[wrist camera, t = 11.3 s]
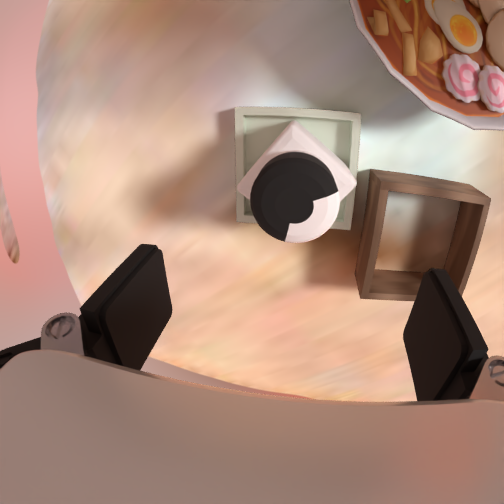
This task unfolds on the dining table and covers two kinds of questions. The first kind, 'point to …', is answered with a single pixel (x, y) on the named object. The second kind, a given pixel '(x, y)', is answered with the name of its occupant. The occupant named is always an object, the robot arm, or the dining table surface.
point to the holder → (461, 247)
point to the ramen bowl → (442, 53)
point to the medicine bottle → (296, 186)
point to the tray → (271, 126)
